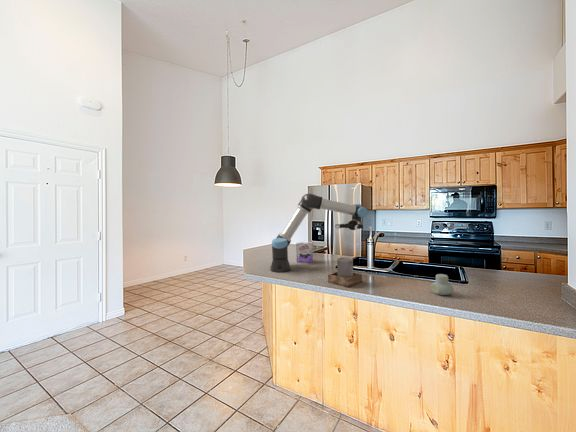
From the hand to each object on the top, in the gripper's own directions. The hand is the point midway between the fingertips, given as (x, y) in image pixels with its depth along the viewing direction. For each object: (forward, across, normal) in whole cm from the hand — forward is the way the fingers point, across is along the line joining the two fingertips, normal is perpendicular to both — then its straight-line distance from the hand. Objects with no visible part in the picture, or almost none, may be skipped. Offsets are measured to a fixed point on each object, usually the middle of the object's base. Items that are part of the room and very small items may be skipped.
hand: (345, 227), depth 192 cm
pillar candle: (+22, -6, -31) cm, 39 cm away
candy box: (-21, +42, -32) cm, 57 cm away
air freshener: (+22, -59, -32) cm, 70 cm away
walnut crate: (+22, -5, -32) cm, 39 cm away
